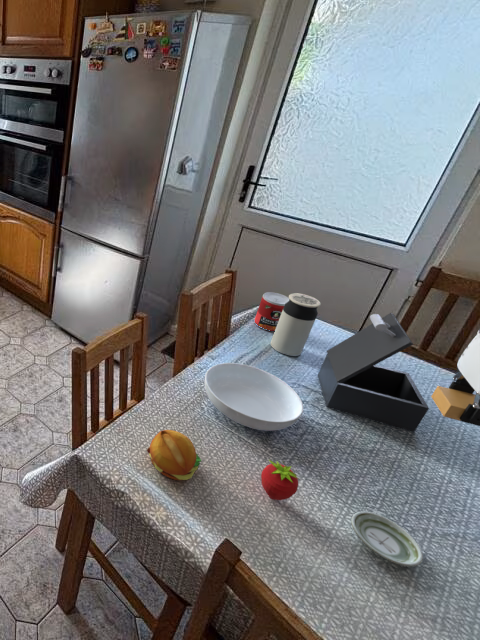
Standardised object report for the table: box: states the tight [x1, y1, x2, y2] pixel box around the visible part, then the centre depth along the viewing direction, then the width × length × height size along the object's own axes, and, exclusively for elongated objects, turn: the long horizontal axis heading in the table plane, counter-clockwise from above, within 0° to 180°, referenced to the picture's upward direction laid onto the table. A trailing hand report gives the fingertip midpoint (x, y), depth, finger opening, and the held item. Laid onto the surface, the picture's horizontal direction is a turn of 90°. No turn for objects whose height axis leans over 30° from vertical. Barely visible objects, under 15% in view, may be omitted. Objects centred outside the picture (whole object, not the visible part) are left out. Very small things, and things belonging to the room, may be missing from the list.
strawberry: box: [260, 459, 299, 501], centre depth 83 cm, size 6×8×10 cm
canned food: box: [254, 291, 289, 332], centre depth 137 cm, size 8×8×11 cm
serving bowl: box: [204, 362, 304, 432], centre depth 105 cm, size 21×21×7 cm
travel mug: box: [269, 292, 321, 357], centre depth 125 cm, size 8×8×18 cm
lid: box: [326, 312, 414, 383], centre depth 104 cm, size 18×14×5 cm
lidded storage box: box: [317, 353, 430, 433], centre depth 107 cm, size 17×14×8 cm
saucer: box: [350, 510, 424, 567], centre depth 76 cm, size 10×10×2 cm
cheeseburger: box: [146, 429, 203, 482], centre depth 90 cm, size 10×11×10 cm
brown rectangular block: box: [430, 385, 476, 422], centre depth 80 cm, size 7×6×3 cm
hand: (463, 410), depth 81 cm, fingers closed on brown rectangular block, 6 cm apart
